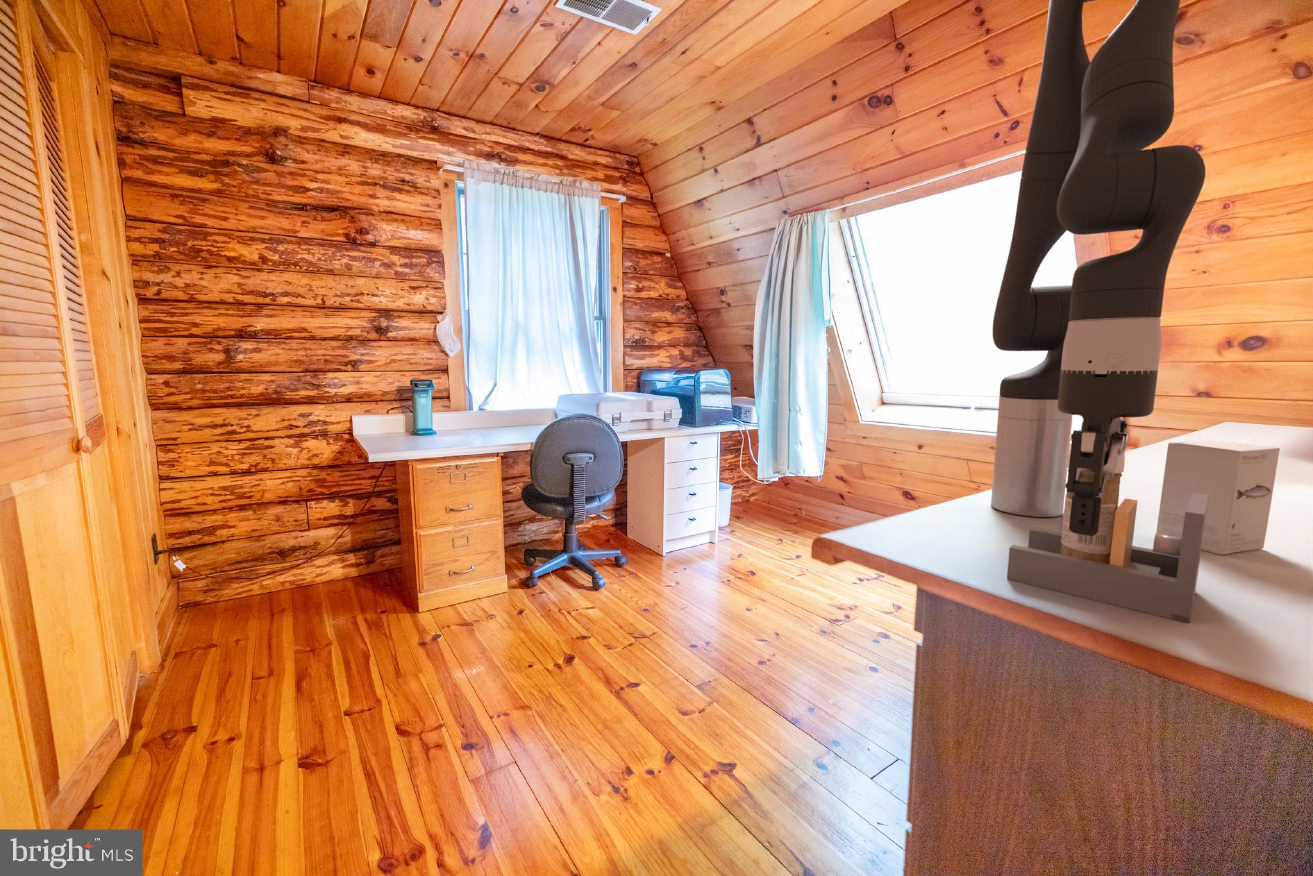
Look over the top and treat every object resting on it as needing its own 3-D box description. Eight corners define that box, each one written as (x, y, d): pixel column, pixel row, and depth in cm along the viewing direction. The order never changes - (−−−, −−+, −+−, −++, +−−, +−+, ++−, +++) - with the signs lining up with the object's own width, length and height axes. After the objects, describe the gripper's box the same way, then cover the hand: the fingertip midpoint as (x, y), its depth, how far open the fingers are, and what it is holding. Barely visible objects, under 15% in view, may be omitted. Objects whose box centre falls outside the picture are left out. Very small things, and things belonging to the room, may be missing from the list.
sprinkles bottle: (1114, 576, 58) (1128, 450, 56) (1107, 589, 55) (1122, 457, 53) (1061, 564, 62) (1073, 445, 60) (1052, 576, 58) (1064, 451, 56)
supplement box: (1224, 556, 65) (1239, 450, 63) (1153, 537, 72) (1165, 441, 70) (1267, 550, 67) (1283, 446, 65) (1193, 531, 74) (1206, 438, 72)
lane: (1029, 555, 66) (1037, 473, 64) (1195, 591, 56) (1208, 494, 54) (1006, 578, 59) (1014, 487, 58) (1189, 623, 49) (1204, 514, 48)
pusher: (1116, 571, 59) (1125, 498, 58) (1159, 580, 56) (1169, 504, 55) (1106, 589, 55) (1115, 510, 53) (1152, 600, 52) (1162, 518, 51)
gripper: (1075, 364, 63) (1062, 504, 65) (1045, 368, 53) (1030, 532, 55) (1165, 365, 57) (1146, 517, 60) (1149, 369, 47) (1128, 550, 50)
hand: (1091, 524), depth 57 cm, fingers open, 8 cm apart
